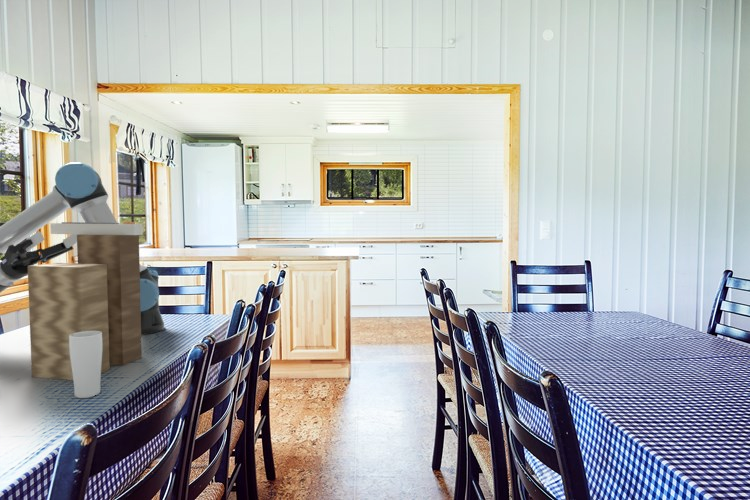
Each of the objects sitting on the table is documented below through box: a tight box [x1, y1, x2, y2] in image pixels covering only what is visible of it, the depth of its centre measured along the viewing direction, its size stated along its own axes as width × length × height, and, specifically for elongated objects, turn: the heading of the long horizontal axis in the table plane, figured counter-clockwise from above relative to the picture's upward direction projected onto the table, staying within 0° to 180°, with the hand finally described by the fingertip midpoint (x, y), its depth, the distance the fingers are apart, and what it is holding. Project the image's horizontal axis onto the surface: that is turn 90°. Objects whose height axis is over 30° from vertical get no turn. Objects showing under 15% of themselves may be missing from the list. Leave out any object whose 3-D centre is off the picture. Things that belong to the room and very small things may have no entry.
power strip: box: [49, 221, 143, 236], centre depth 134 cm, size 28×4×4 cm, turn 80°
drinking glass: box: [69, 331, 103, 399], centre depth 108 cm, size 7×7×15 cm
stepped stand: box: [27, 234, 143, 381], centre depth 129 cm, size 17×21×38 cm
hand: (61, 234), depth 136 cm, fingers open, 13 cm apart
